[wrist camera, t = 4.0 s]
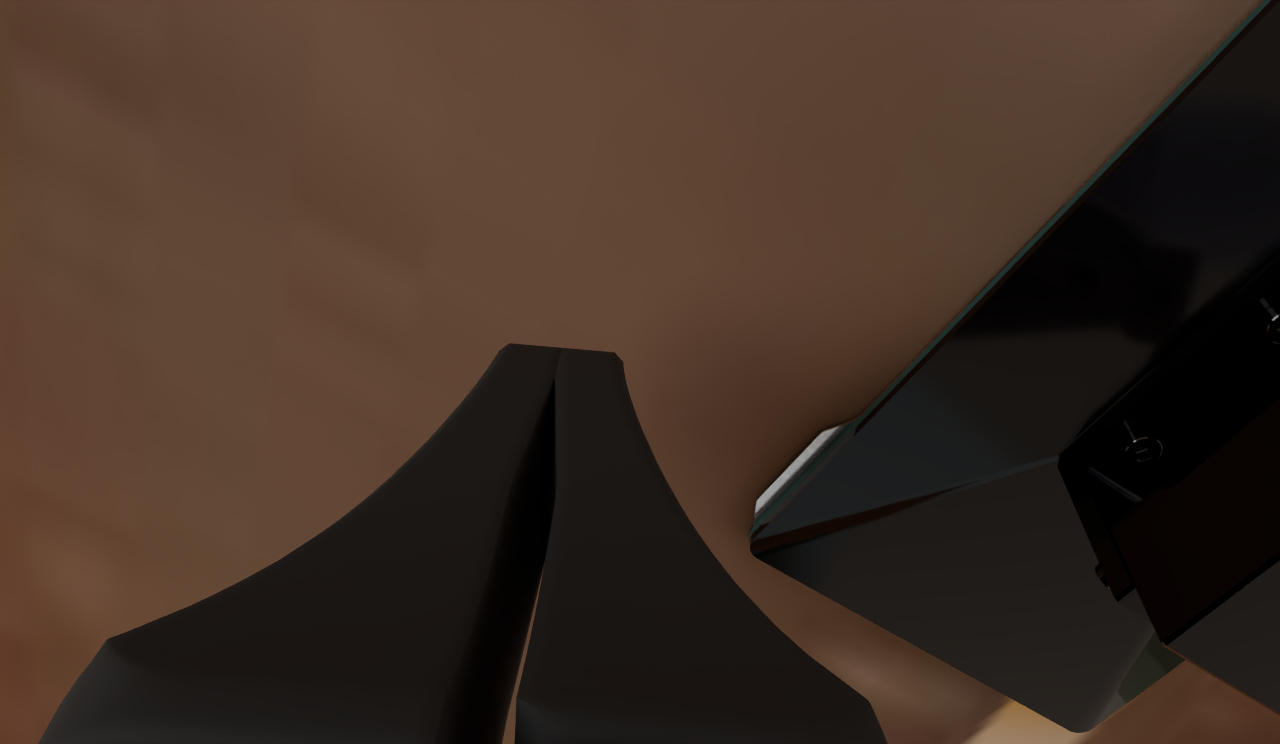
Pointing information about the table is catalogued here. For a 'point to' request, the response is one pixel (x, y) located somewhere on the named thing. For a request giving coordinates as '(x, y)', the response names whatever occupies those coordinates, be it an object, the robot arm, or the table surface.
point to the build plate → (1085, 432)
